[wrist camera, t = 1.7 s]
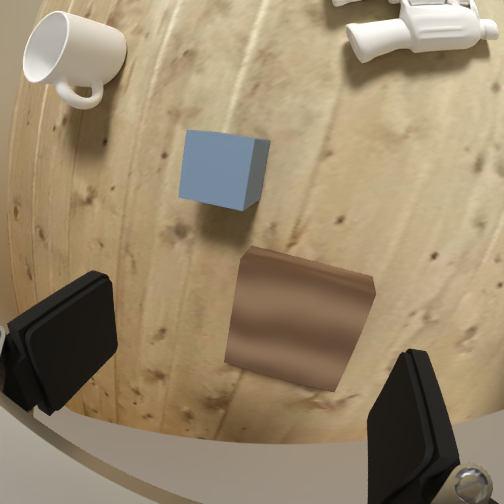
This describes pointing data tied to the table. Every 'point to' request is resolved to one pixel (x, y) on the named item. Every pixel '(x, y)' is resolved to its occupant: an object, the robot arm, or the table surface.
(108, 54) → the mug
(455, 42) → the binoculars
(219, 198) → the slate cube
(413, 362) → the robot arm
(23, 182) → the table surface
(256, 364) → the walnut base
